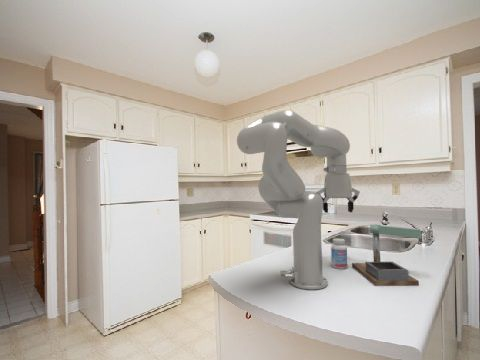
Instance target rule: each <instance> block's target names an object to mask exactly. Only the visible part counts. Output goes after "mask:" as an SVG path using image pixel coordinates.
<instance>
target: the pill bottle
mask: <svg viewBox="0 0 480 360" xmlns="http://www.w3.org/2000/svg"><path fill="white" fill-rule="evenodd" d="M345 241H346V239H344V238H339V237H336V238H333V239H332V243H333V244H332V245H331V246H330V247H331V249H330V251H331V255H330V256H331V266H332V267H333V268H334V269H337V270H338V269H339V270H346V269H347V268H348V266H349V265H348V247H347V245H345V244H346V242H345Z"/></svg>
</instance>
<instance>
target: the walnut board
mask: <svg viewBox="0 0 480 360" xmlns="http://www.w3.org/2000/svg"><path fill="white" fill-rule="evenodd" d="M351 267H352V268H353V269H354V270H355V271H356V272H358V273H359V274H360V275H361V276H362V277H364V278H365V279H366V280H367V281H368V282H370V283H371V284H372V285H373V286H376V287H391V286H392V287H404V286H408V287H409V286H414V287H415V286H420V282H419V281H420V280H418V279H416V278H415V277H413V276H411V275H409V274H408V281H378V280H376V279H375V278H374V277H372V276H371V275H370V274H368V273H367V272H366V263H365V262H352V263H351Z"/></svg>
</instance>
